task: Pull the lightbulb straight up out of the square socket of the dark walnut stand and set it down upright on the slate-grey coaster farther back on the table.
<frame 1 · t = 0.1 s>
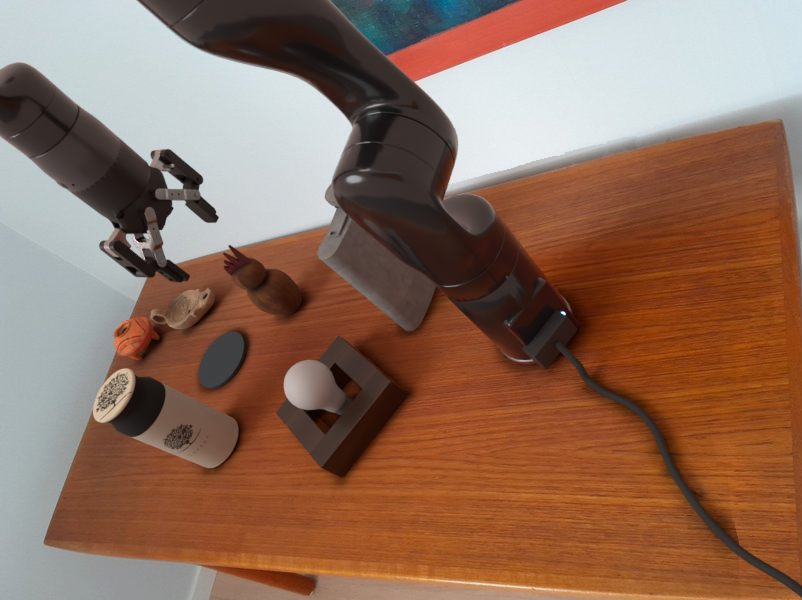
hand: (199, 248, 81), 22 cm above the table, tool pointing down, fingers open, 8 cm apart
coaster: (223, 360, 107), on the table
travel mug: (221, 443, 98), on the table
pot: (150, 345, 121), on the table
bulb stand: (349, 409, 87), on the table
hip flask: (428, 280, 91), on the table
wooden figurine: (293, 305, 104), on the table
oil lamp: (196, 316, 118), on the table
lightbulb: (350, 410, 87), resting in bulb stand
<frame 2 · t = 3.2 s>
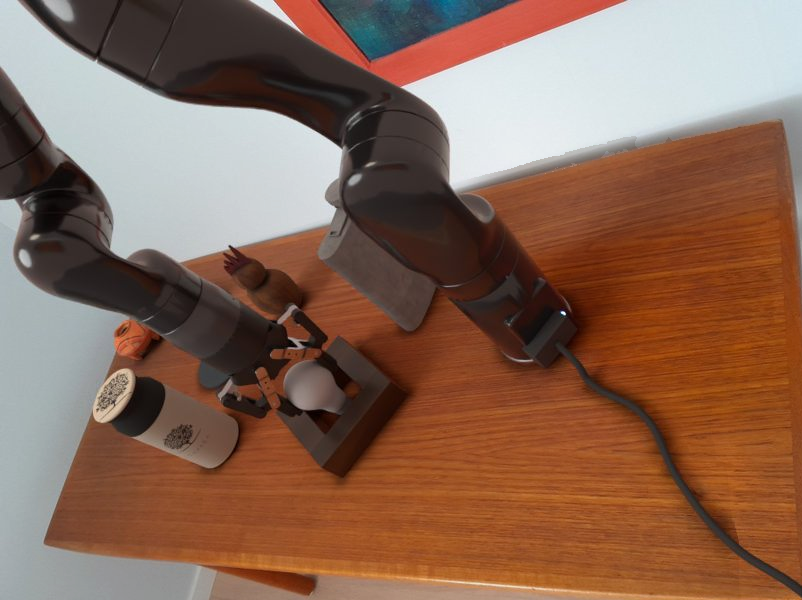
hand: (316, 388, 82), 7 cm above the table, tool pointing down, fingers closed on lightbulb, 6 cm apart
lightbulb: (350, 410, 87), resting in bulb stand, touching gripper
everything else where it was.
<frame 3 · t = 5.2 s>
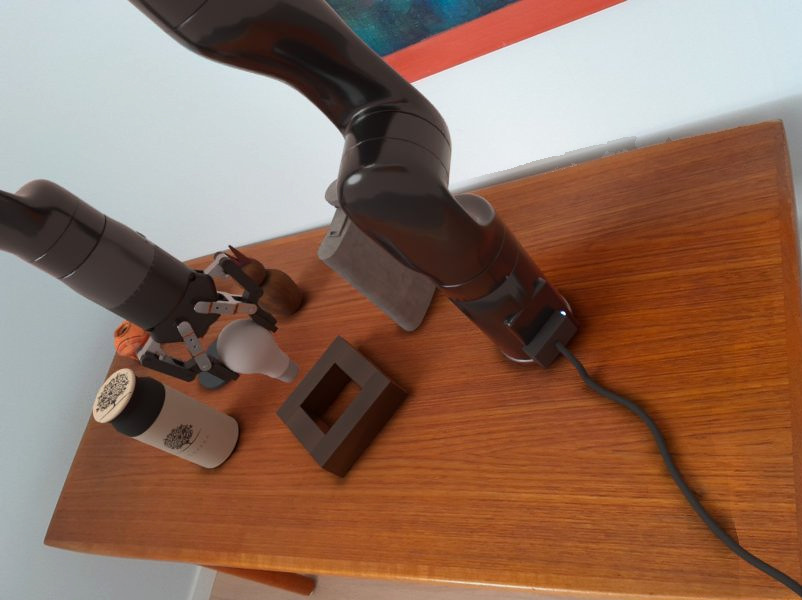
hand: (254, 350, 74), 17 cm above the table, tool pointing down, fingers closed on lightbulb, 6 cm apart
lightbulb: (296, 376, 79), point 10 cm above the table, touching gripper
everything else where it was.
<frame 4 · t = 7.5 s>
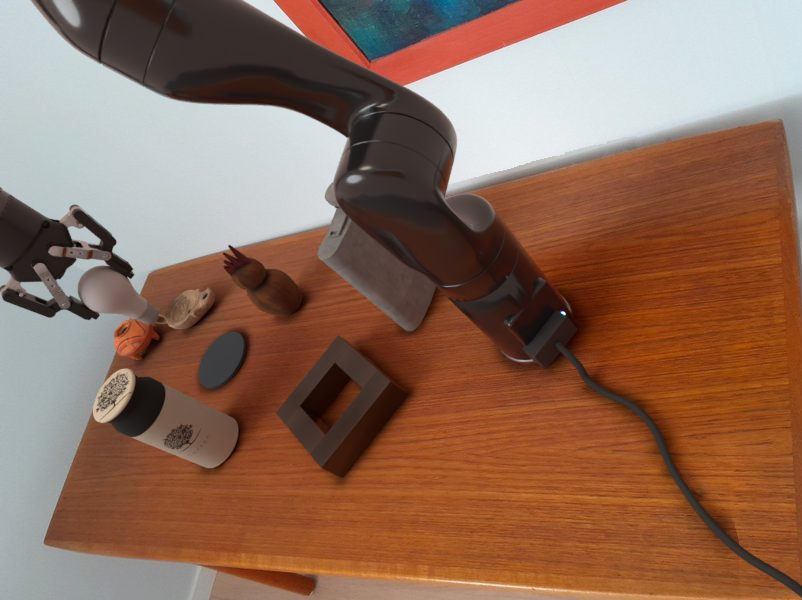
hand: (114, 294, 85), 23 cm above the table, tool pointing down, fingers closed on lightbulb, 6 cm apart
lightbulb: (157, 320, 90), point 17 cm above the table, touching gripper
everything else where it was.
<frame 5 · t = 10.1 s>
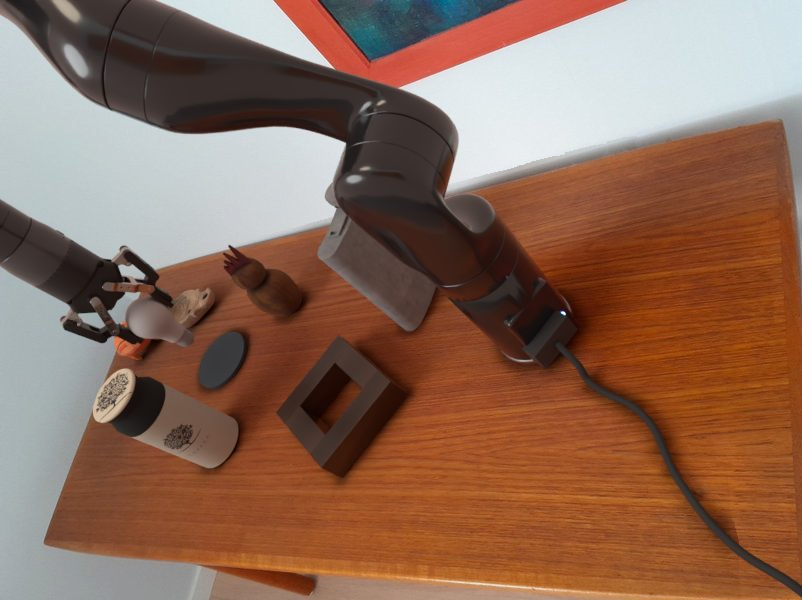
hand: (156, 321, 97), 13 cm above the table, tool pointing down, fingers closed on lightbulb, 6 cm apart
lightbulb: (193, 342, 102), point 6 cm above the table, touching gripper
everything else where it was.
when the fingers open (7 cm above the table, at t = 12.0 s): lightbulb stays where it is, resting on coaster.
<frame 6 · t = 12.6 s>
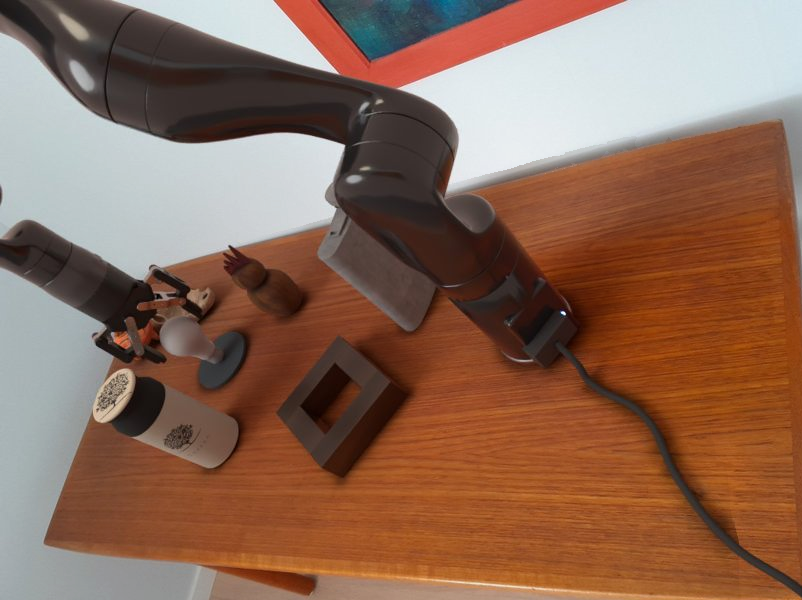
hand: (182, 337, 101), 8 cm above the table, tool pointing down, fingers open, 8 cm apart
lightbulb: (222, 359, 106), resting on coaster
everything else where it was.
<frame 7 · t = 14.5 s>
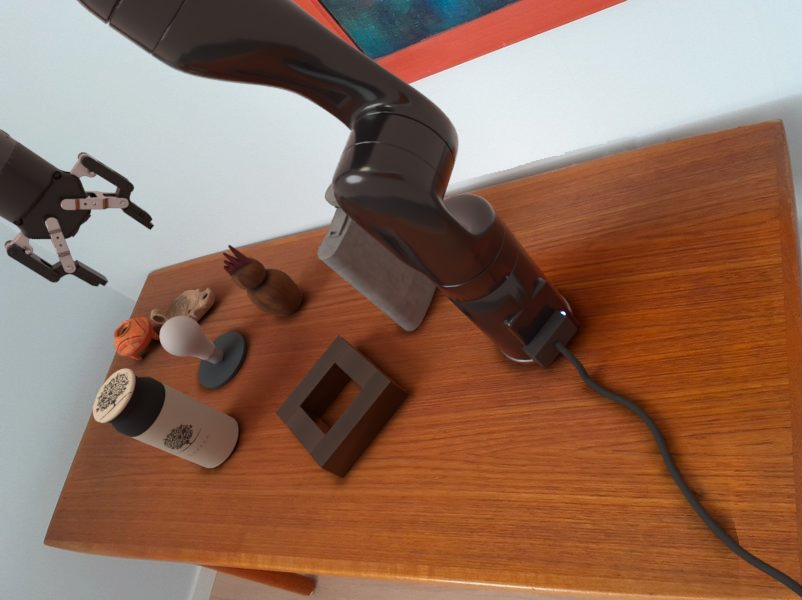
hand: (128, 253, 79), 27 cm above the table, tool pointing down, fingers open, 8 cm apart
nothing on the table moved.
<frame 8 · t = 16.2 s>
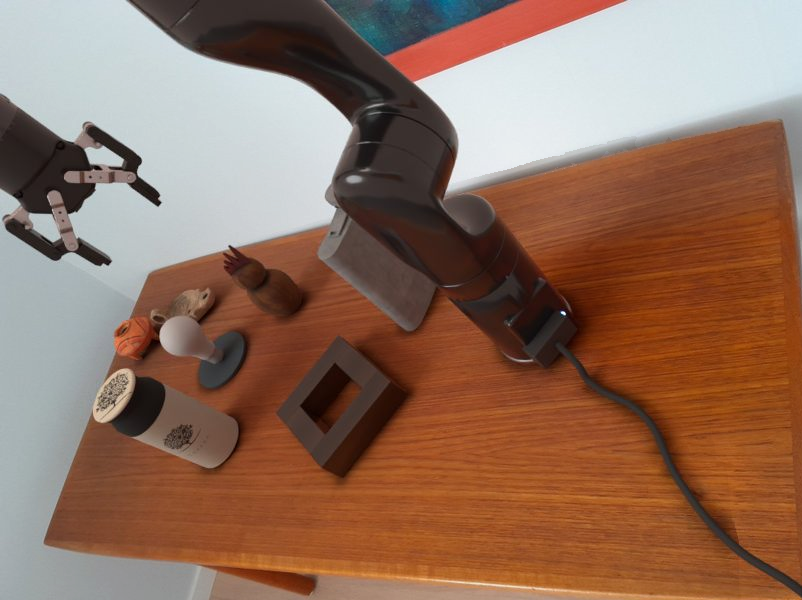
hand: (133, 231, 75), 30 cm above the table, tool pointing down, fingers open, 8 cm apart
nothing on the table moved.
at the end: lightbulb inside the target area on the coaster (0.1 cm from its centre), point 0.4 cm above the coaster's base; lightbulb tilted 0°; the gripper is holding nothing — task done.
